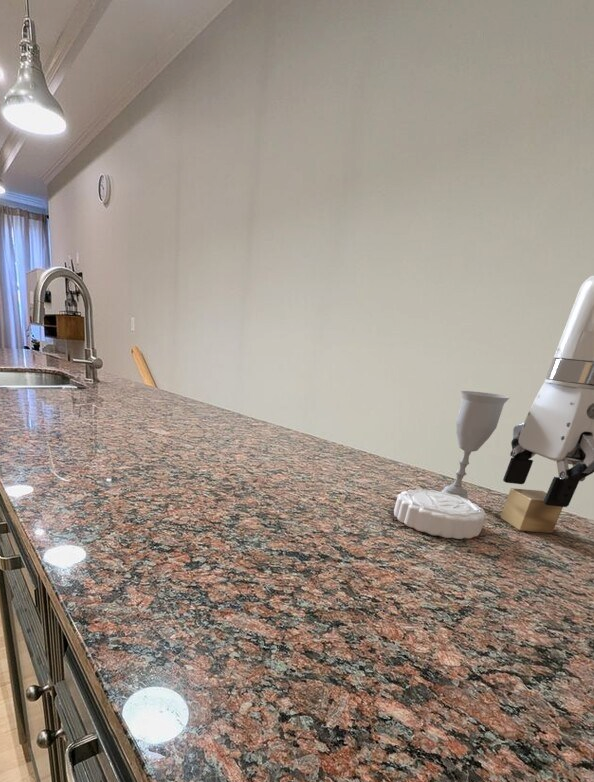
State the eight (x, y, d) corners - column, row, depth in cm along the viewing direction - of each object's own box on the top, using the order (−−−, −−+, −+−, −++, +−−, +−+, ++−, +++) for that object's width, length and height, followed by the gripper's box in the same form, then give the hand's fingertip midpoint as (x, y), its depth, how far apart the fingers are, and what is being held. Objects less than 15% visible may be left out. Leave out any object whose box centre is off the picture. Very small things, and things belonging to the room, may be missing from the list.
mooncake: (493, 545, 61) (501, 521, 59) (401, 532, 63) (407, 508, 61) (464, 513, 72) (471, 492, 70) (387, 502, 73) (392, 482, 72)
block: (531, 520, 71) (542, 490, 69) (552, 533, 67) (565, 502, 65) (500, 517, 71) (510, 488, 69) (519, 530, 67) (531, 499, 65)
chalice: (442, 490, 82) (472, 390, 76) (481, 502, 78) (516, 397, 71) (423, 497, 78) (453, 391, 71) (463, 510, 73) (499, 398, 66)
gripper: (666, 387, 53) (602, 518, 59) (562, 373, 69) (521, 478, 75) (604, 380, 53) (547, 513, 59) (514, 367, 69) (477, 473, 75)
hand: (532, 493), depth 67 cm, fingers open, 9 cm apart
